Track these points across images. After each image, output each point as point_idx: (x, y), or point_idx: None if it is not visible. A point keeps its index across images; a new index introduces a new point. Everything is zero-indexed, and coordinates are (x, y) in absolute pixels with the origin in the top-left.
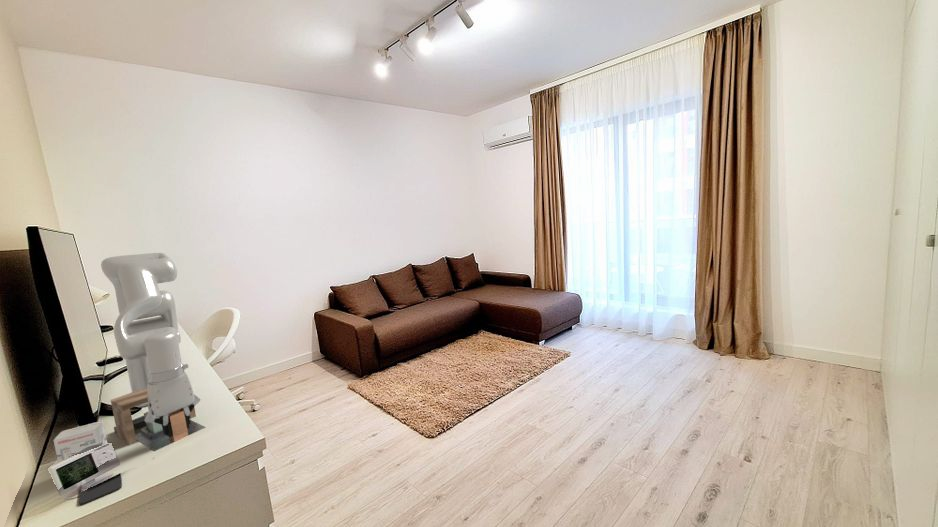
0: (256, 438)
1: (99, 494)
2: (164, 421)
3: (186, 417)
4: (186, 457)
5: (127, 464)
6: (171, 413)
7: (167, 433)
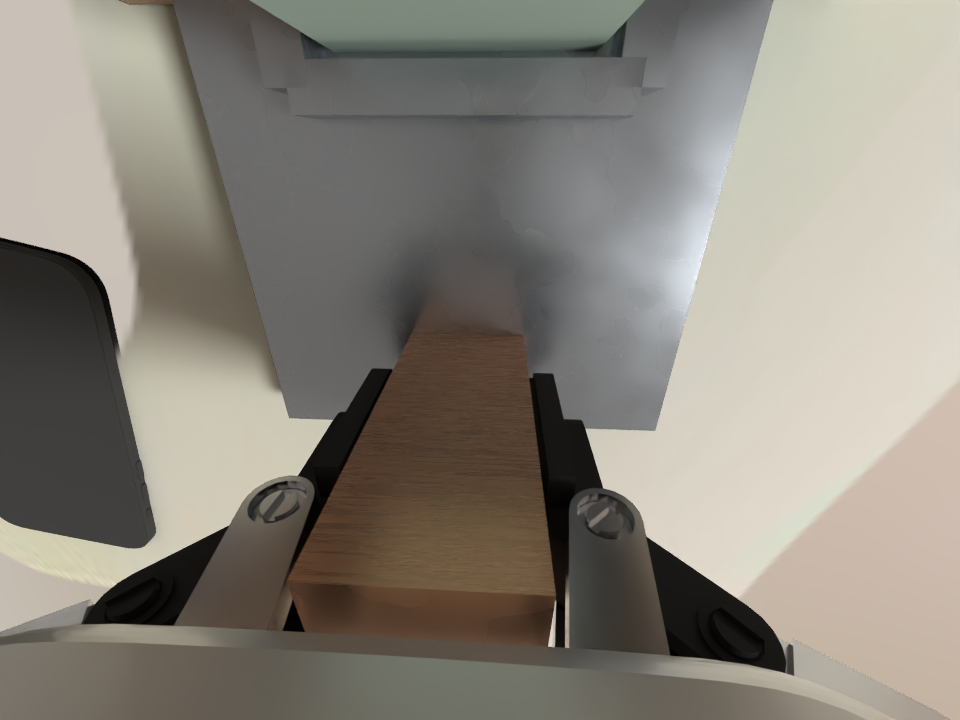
0: None
1: (66, 525)
2: (284, 627)
3: None
4: None
5: (148, 332)
6: None
7: None
